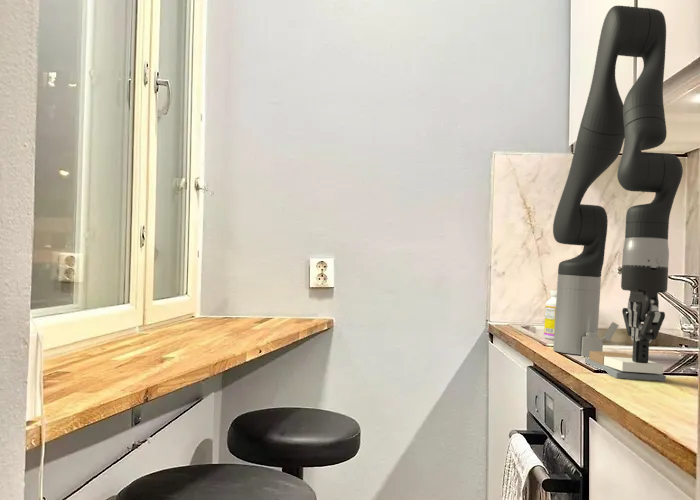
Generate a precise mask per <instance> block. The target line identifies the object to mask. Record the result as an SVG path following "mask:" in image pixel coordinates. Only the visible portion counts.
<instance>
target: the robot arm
mask: <svg viewBox="0 0 700 500" xmlns="http://www.w3.org/2000/svg"><path fill="white" fill-rule="evenodd" d="M666 23H667V22H666V17H665V15H664V13H663V12H662V11H661V10H659V9H656V8H651V7H637V6H629V5H628V6H627V5H614V6H612V7H611V8H610V9H609V10H608V11H607V13H606V15H605V18H604V20H603V23H602V25H601V26H602V27H601V31H600V35H599V40H598V47H597V51H596V56H595V57H596V58H595V63H594V67H593V68H594V69H593V73H592V74H593V75H592V80H591V84H590V88H589V93H588V96H587V99H586V100H587V101H586V104H585V106H584V107H585V108H584V111H583V114H582V117H581V121H580V125H579V129H578V132H577V137H576V142H575V145H574V146H575V147H574V152H573V156H572V160H571V164H570V168H569V170H568V175H567V178H566V181H565V185H564V188H563V191H562V193H561V196H560V200H559V202H558V205H557V208H556V211H555V213H554V219H553V224H552V234H553V238H554V240H555V241H556V243H558V244H562V245H563V244H564V245H570V246H571V245H572V246H583V249H582V252H581V253H580V254H578V255H576V256H575V257H572V258H569V259H565V260H562V261H560V262H559V264H558V268H557V286H556V287H557V288H556V291H557V299H556V314H555V330H554V340H553V349H552V350H553V351H555V352H558V353H563V354H571V355H579V356H581V350H582V336H584V337H587V336H586V334H587V333H598V334H599V317H600V301H601V284H602V283H601V282H602V270H603V268H604V267H603V266H604V262H605V253H606V252H605V251H606V243H607V237H608V236H607V234H608V223H609V222H608V213H607V212H606V209H605V208H604V207H603V206H601V205H596V204H585V203H584V204H582V200H583V199H584V196H585V194H586V193H587V191H588V189H589V188H590V187H591V185H592V184H593V183H594V182H595V181H596V180H597V179H598V178H599V177H600V176H601V175H602V174H603V173H604V172H605V171H607V169H608V168H610V166H611V165H612V164H613V163H614V162H615V161H616V159H617V158H618V157H619V156H620V154H621V157H620V161H619V165H618V168H617V172H616V173H617V174H616V175H617V176H616V177H617V181H618V183H619V185H620V186H621V188H623V189H624V190H625V191H628V192H636V193H637V192H638V193H639V192H640V193H642V192H643V193H655V194H654V198H653V199H652V200H651V202H650V203H643V204H637V205H632V206H630V207H629V208H628V209H627V210H626V215H625V232H624V234H625V235H624V238H625V239H624V244H623V246H622V247H623V249H622V256H621V257H622V262H621V281H620V286H621V290H623V291H629V292H630V293H629V296H628V297H629V298H628V302H627V307H622V311H621V312H622V317H623V320H624V326H625V329H626V332H627V336H628V337H631V338H630V339H631V341H632V342H633V343H632V360H633V362H636V363H648V361H649V352H650V350H649V349H650V343H652V341H655V340H656V339H657V337H658V335H659V332H660V331H661V327H662V325H663V322H664V319H665V318H666V313H665V312H664V311H660V309H659V307H660V306H659V303H660V302H659V296H658V295H659V294H658V293H661V294H663V293H666V292H667V291H668V284H669V283H668V282H669V281H668V280H669V279H668V278H669V260H670V258H669V257H670V249H669V229H670V228H669V227H670V215H671V211H672V207H673V205H674V204H673V203H674V200H675V197H676V194H677V192H678V188H679V187H680V184H681V181H682V178H683V174H684V171H683V165H682V164H683V163H682V162H681V159H680V158H679V157H678V156H677V155H676V154H673V153H669V152H650V151H649V152H647V151H646V150H651V149H655V148H657V147H660V146H661V145H662V144H663V143H665V141H666V139H667V124H666V123H667V122H666V115H665V106H664V76H665V67H666V66H665V64H666V62H665V61H666V48H667V46H666V44H667V24H666ZM619 56H622V57H630V58H631V57H632V58H642V62H643V68H642V71H641V73H640V75H639V76H638V78H637V79H636V80H635V82H634V84H633V85H632V86H631V88H630V89H629V91H628V92H627V95H626V96H625V99H624V101H623V100H622V97H621V95H620V92H619V89H618V86H617V85H618V84H617V80H616V67H617V60H618V57H619ZM621 151H622V153H621Z"/></svg>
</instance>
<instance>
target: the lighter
mask: <svg viewBox="0 0 700 500" xmlns="http://www.w3.org/2000/svg"><path fill="white" fill-rule="evenodd" d="M619 327H620V325H619V324H617V323H616V322H614V321H612V322H611V323H610V325H609V327H608V328H607V330H606V331H605V333H604V335H603V337H599V332H598V333H587V334H586V336H587V337H584V336H582V350H581V355H580V357H581V356H585V357H589V355H590V351H601V352H603V350H604V349H603V348H604V347H603V346H604V341H606V342H608V343H609V342H611V339H612V338H613V337H614V335H615V333H616V331H617V329H618V328H619ZM585 357H584V358H585Z"/></svg>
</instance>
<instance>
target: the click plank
mask: <svg viewBox="0 0 700 500" xmlns="http://www.w3.org/2000/svg"><path fill="white" fill-rule="evenodd" d="M604 365H606V366H609V367H611V368H614V369H617V370H620V371H627V372H641V373H656V374H662V375H664V364H662V363H659V362H654V361H651V360H648V363H636V362H633V360H632V358H622V357H607V356H604Z"/></svg>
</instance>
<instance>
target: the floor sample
mask: <svg viewBox="0 0 700 500" xmlns="http://www.w3.org/2000/svg"><path fill="white" fill-rule="evenodd" d="M604 356H607V357H622V358H632V356H633V354H629V353H626V352H613V351H602V352H601V351H590V355H589V358H585V357H584V363H585V362H586V363H588V364H590V365H592V366H595V367H597V368H600V369H603V370H605V371H606V372H607V373H608V374H607V375H609V376H611V377H613V378H615V379H621V378H626V379H625V380H635V379H646V380H645V381H650V380H658V381H657V382H664V381H665V382H666V378H667V377H666V376H667V375H665V374H656V373H641V372H627V371H620V370H617V369H614V368H611V367H609V366H606V365H604ZM659 380H660V381H659Z"/></svg>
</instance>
